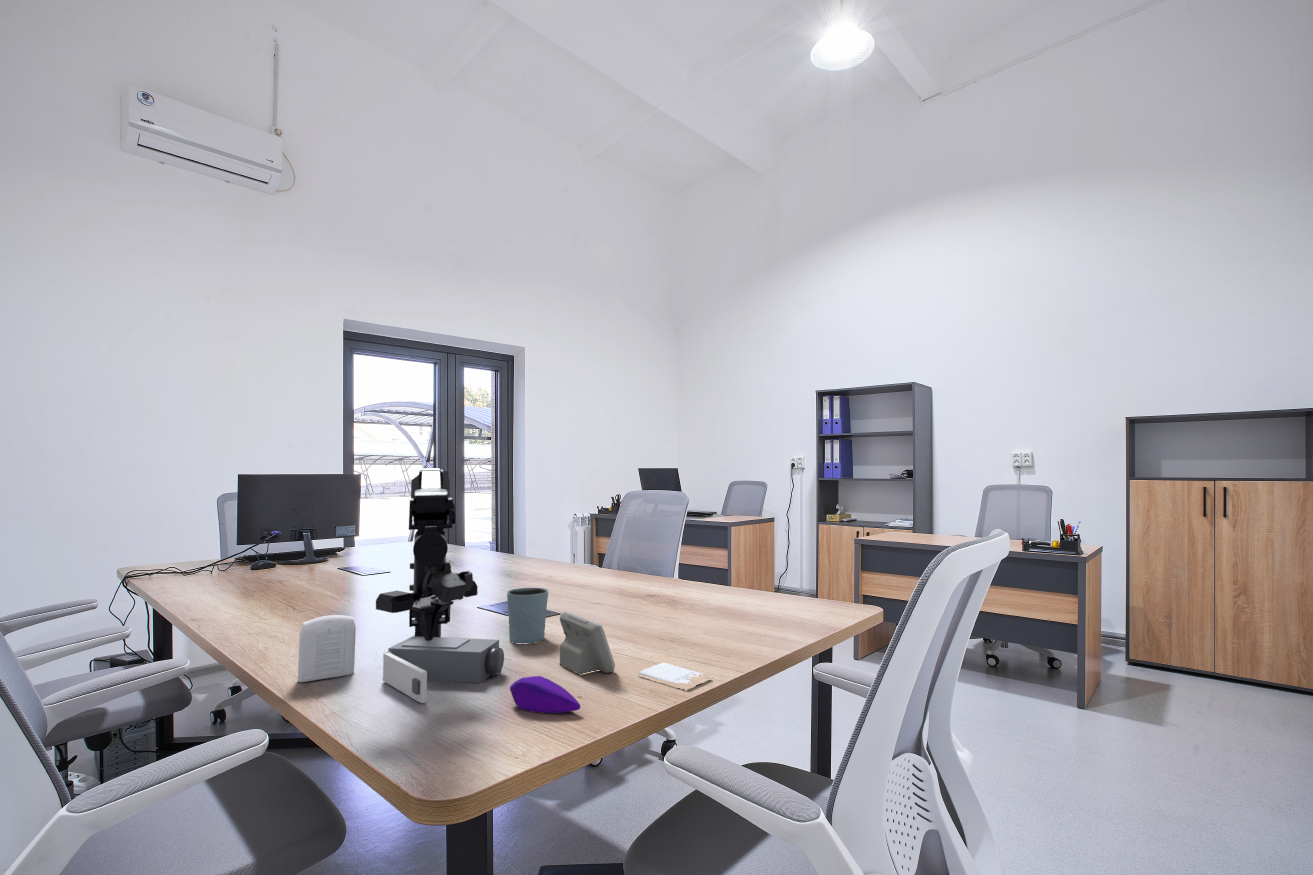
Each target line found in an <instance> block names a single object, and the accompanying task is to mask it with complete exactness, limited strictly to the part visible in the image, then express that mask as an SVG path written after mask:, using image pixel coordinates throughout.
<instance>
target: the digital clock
mask: <svg viewBox="0 0 1313 875" xmlns="http://www.w3.org/2000/svg"><path fill="white" fill-rule="evenodd" d="M559 622H560V624H561V627H562V630H563V634H564V636H565V639H564V640H562V642H561V643H560V644H559V645H560V646H559V665H560V664H561V665H560V666H562V665H563V666H562V667H564V666H565V667H567V668H569V669H570V671H571V670H572V671H571V672H573V671H575V672H577V673H578V674H583V673H587V672H591V671H596V670H601V671H600V672H602V671H603V673H604V672H605V674H610V673H609V672H612V673H613V672H614V671H615V668H616V664H615V661H614V657H613V654H612V652H611V649H610V645H609V643H608V639H607V636H606V633H605V630H604V628H603V625H601V624H600V623H598V622H596V621H593V620H590V619H588V618H585V617H582V616H580V615H577V614H575V613H572V612H567V611H564V612H562V613H561V614H560V615H559ZM565 667H564V668H565ZM567 668H566V669H567ZM569 669H568V670H569ZM575 672H574V673H575ZM578 674H577V675H578Z"/></svg>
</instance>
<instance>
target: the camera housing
mask: <svg viewBox="0 0 1313 875" xmlns="http://www.w3.org/2000/svg"><path fill="white" fill-rule="evenodd" d="M388 651H391V654H393V655H395V656H397V657H399V658H401V659H403V660H405V661H407V662H409V663H411V664H413V665H415V666H417V667H419V668H421V669H423V670H425V671H427V681H433V682H434V681H435V682H436V681H437V682H457V683H472V684H473V683H474V684H476V683H477V684H481V683H482V682H484V681H485V680H486V679H487V678H488V677H490V676H491V675H499V674H500V673H501V672H502V669H503V667H504V662H505V654H504V653H505V652H504V650H503V648H502V647H500V639H492V638H490V639H489V638H467V637H465V638H462V637H445V636H443V637H442V636H441V637H433V639H432V640H431V641H426V640H425V638H424V637H420V636H415V635H413V636H411V637H408V638H406V639H404V640H402V641H400V642H399V643H396V644H394V645H392V646H390V647H388ZM388 651H387V652H388Z"/></svg>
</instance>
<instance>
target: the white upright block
mask: <svg viewBox="0 0 1313 875" xmlns="http://www.w3.org/2000/svg"><path fill="white" fill-rule="evenodd" d="M301 625H302V626H301V627H300V628H301V629H300V631H299V639H298V640H299V643H298V644H299V645H298V646H299V647H298V662H297V664H298V667H297V681H298V683H306V682H311V681H318V680H323V679H331V678H337V677H338V678H339V677H343V676H350V675H353V674H354V673H355V660H356V659H355V658H356V657H355V656H356V654H355V653H356V651H355V650H356V634H357V633H356V632H357V631H356V629H357V627H356V622H355V619H354V617H353V616H349V615H343V614H342V615H341V614H331V615H330V614H329V615H324V616H317V617H315V618H313V619H308V620H306V621H304V622H302V624H301Z"/></svg>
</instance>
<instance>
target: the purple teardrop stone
mask: <svg viewBox="0 0 1313 875" xmlns="http://www.w3.org/2000/svg"><path fill="white" fill-rule="evenodd" d="M509 687H510V688H509V690H510V691H509V692H510V693H511V696H512V698H513V702H514V704H515V705H516V707H518V708H519V709H520V710H523V711H526V710H527V711H526V712H531V711H534V712H533V713H538V712H543V713H542V714H560V713H569V712H574V711H578V710H581V707H582V706H581V704H580V703H579V701H578V700H577V699H576V698H575V697H574V696H573V695H572V694H571V693H570V692H569V691H567V690H566V688H564V687H563V686H561V685H560V684H558V683H556V682H554V681H552V680H551V679H549V678H546V677H544V676H541V675H535V676H534V675H533V676H525V677H521V678H519V679H517V680H515V681H514V682H513V683H511V685H509Z"/></svg>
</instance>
